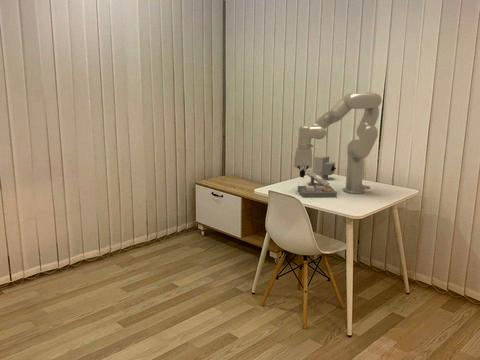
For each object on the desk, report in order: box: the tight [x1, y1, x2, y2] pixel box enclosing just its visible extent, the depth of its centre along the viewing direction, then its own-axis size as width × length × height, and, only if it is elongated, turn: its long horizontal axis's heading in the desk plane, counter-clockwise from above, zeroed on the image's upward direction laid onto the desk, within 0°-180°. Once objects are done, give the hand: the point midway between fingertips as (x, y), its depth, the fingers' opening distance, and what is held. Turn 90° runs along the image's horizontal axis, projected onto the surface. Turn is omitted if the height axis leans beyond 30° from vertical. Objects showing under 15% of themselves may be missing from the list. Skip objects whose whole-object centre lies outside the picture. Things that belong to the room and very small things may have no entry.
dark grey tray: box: [297, 185, 338, 199], centre depth 281 cm, size 20×16×3 cm
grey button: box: [305, 185, 315, 192], centre depth 276 cm, size 4×4×3 cm
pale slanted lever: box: [305, 170, 330, 186], centre depth 304 cm, size 8×6×14 cm
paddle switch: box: [307, 176, 317, 188], centre depth 284 cm, size 4×4×6 cm
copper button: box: [322, 188, 331, 192], centre depth 277 cm, size 4×4×3 cm
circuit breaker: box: [312, 154, 337, 180], centre depth 319 cm, size 8×14×15 cm, turn 57°
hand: (302, 177), depth 283 cm, fingers closed
